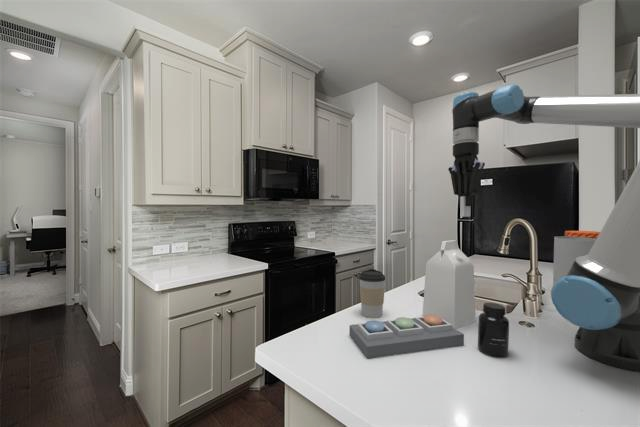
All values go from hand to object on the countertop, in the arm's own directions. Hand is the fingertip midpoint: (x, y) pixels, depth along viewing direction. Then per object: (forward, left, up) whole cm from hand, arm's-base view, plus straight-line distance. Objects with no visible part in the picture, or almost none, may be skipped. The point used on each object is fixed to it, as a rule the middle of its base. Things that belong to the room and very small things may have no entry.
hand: (465, 216), depth 93 cm
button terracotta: (-8, +17, -30) cm, 36 cm away
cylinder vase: (+3, -52, -34) cm, 62 cm away
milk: (+2, +4, -34) cm, 35 cm away
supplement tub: (+15, -74, -34) cm, 83 cm away
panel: (-8, +26, -34) cm, 44 cm away
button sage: (-8, +26, -30) cm, 41 cm away
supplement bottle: (-19, +7, -34) cm, 40 cm away
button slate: (-8, +35, -30) cm, 47 cm away
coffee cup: (+12, +27, -34) cm, 45 cm away
